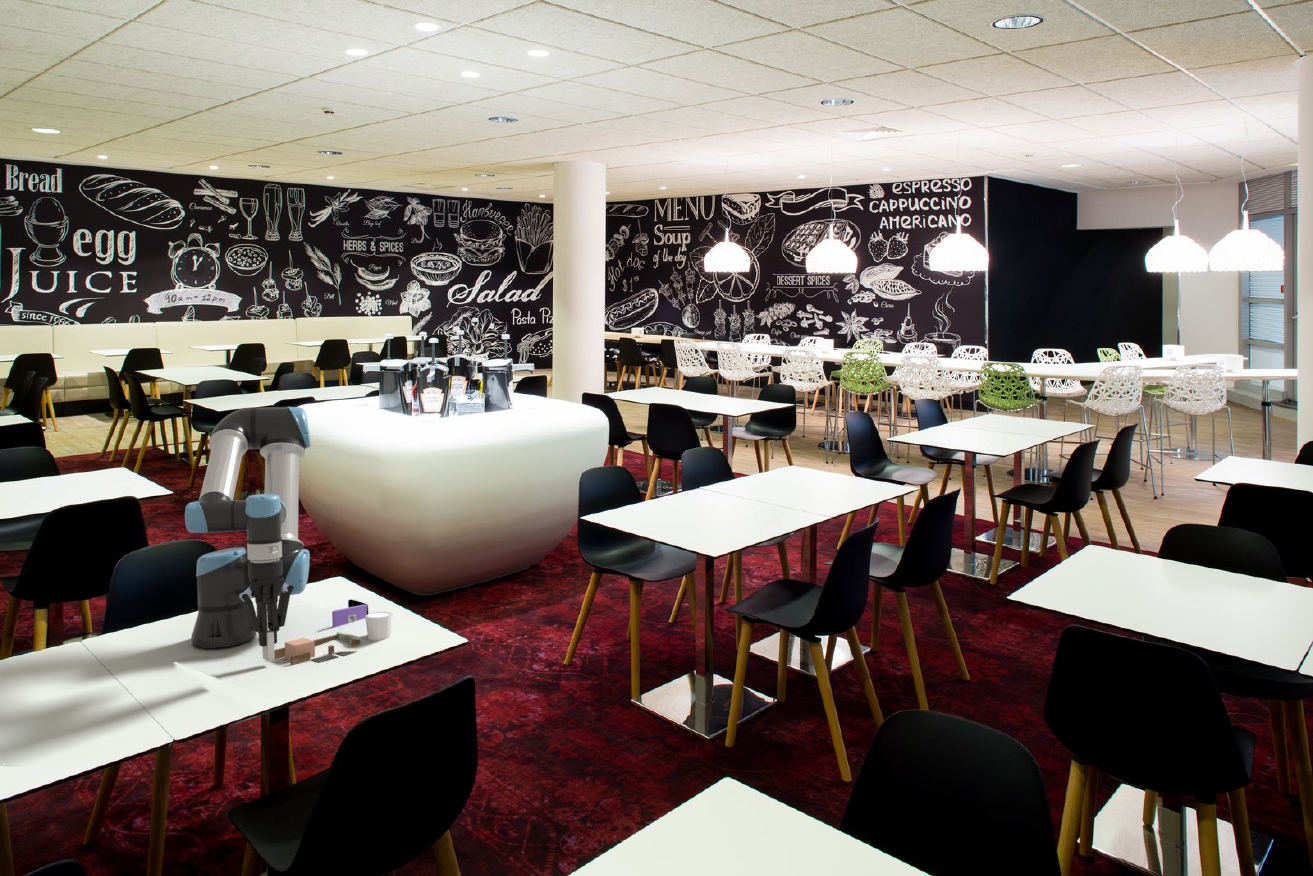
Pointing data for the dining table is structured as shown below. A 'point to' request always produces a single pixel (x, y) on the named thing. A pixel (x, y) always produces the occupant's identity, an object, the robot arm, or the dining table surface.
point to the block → (299, 647)
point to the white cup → (379, 625)
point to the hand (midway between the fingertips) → (268, 658)
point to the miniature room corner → (349, 613)
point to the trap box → (306, 655)
